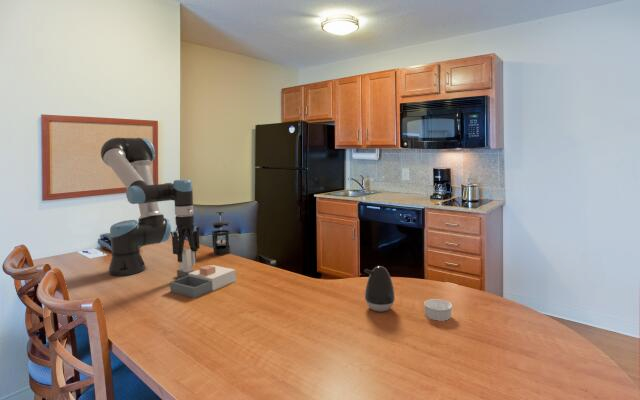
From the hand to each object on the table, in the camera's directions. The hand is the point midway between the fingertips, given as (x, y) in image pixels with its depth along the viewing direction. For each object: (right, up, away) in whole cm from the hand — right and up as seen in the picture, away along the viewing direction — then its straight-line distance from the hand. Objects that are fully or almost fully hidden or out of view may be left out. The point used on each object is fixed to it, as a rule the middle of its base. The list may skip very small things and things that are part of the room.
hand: (187, 267), depth 162 cm
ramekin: (+98, -9, -41) cm, 106 cm away
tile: (+12, -1, -9) cm, 15 cm away
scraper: (0, -5, +1) cm, 5 cm away
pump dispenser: (+79, -8, -34) cm, 87 cm away
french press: (+4, 0, +41) cm, 41 cm away
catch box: (+7, -7, -16) cm, 19 cm away
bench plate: (+13, -5, -7) cm, 16 cm away
